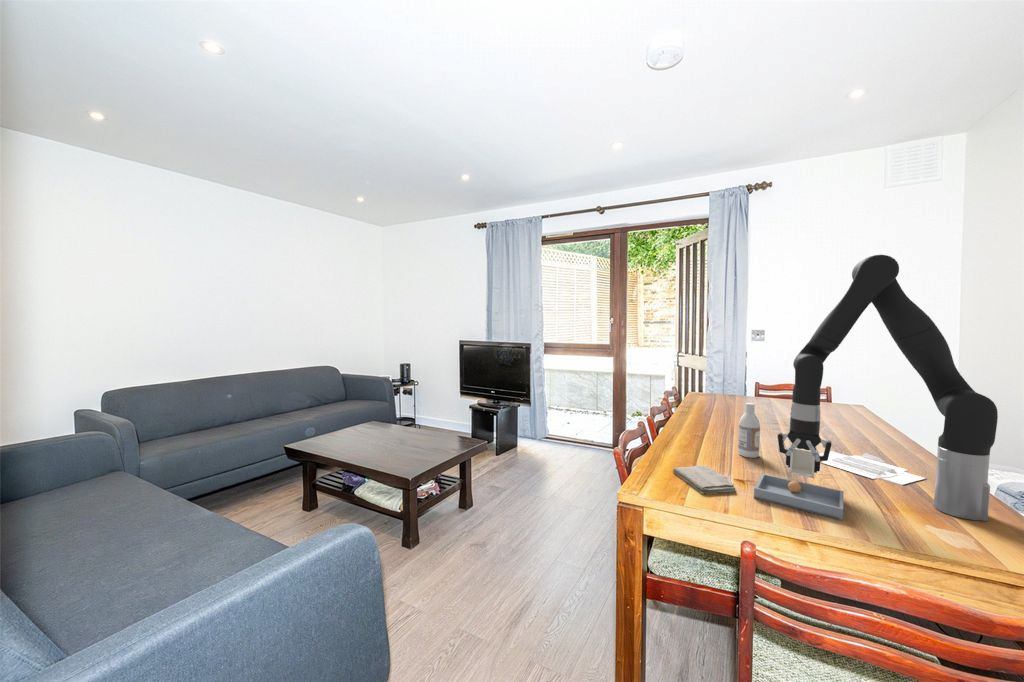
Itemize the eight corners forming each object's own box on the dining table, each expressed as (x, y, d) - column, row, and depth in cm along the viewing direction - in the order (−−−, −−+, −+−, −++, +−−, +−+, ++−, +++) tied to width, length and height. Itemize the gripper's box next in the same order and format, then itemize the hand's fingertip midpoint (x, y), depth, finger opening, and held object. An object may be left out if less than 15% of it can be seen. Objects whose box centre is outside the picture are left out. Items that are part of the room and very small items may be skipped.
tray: (843, 501, 114) (843, 491, 113) (842, 520, 103) (843, 509, 103) (761, 482, 126) (762, 473, 126) (753, 498, 116) (754, 488, 116)
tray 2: (896, 489, 123) (897, 477, 123) (802, 462, 149) (802, 452, 149) (932, 479, 130) (932, 468, 130) (836, 455, 156) (836, 445, 156)
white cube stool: (814, 472, 126) (815, 452, 125) (813, 478, 121) (814, 457, 121) (791, 467, 129) (792, 448, 129) (789, 473, 125) (790, 452, 124)
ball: (790, 486, 121) (800, 482, 119) (794, 495, 118) (805, 491, 116) (783, 481, 120) (794, 477, 118) (788, 491, 117) (798, 487, 116)
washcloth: (703, 496, 118) (703, 486, 118) (671, 473, 136) (671, 464, 135) (739, 494, 119) (739, 484, 119) (703, 471, 137) (703, 462, 137)
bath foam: (753, 459, 147) (755, 406, 145) (734, 454, 152) (736, 403, 151) (762, 455, 150) (764, 404, 149) (743, 450, 156) (745, 400, 155)
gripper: (834, 418, 122) (831, 471, 123) (779, 411, 131) (776, 460, 133) (834, 423, 116) (831, 479, 118) (776, 415, 126) (773, 467, 127)
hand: (802, 469), depth 125 cm, fingers closed on white cube stool, 6 cm apart
